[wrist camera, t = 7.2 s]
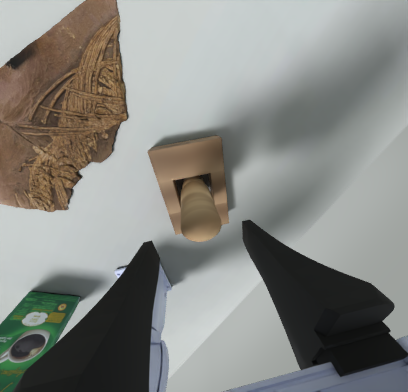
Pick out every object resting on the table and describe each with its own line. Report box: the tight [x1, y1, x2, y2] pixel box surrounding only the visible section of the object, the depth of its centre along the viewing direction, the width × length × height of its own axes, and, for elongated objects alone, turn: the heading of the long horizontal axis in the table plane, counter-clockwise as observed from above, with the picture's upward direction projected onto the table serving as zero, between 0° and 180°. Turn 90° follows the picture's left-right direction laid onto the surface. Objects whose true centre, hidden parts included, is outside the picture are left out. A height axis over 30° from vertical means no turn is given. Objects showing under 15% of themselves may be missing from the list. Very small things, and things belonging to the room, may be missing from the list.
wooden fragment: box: [0, 0, 127, 212], centre depth 15 cm, size 26×11×1 cm, turn 133°
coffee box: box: [0, 291, 80, 392], centre depth 22 cm, size 8×3×13 cm, turn 63°
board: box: [148, 135, 229, 235], centre depth 19 cm, size 12×8×2 cm, turn 9°
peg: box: [181, 175, 222, 242], centre depth 17 cm, size 4×4×9 cm
